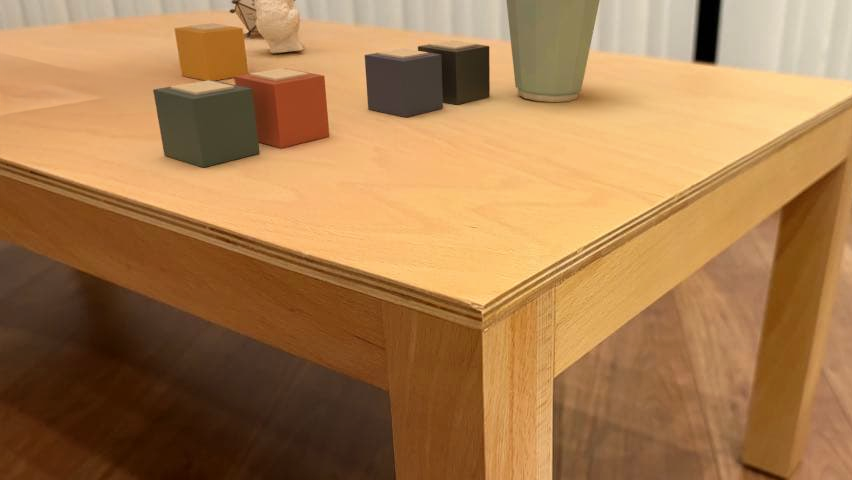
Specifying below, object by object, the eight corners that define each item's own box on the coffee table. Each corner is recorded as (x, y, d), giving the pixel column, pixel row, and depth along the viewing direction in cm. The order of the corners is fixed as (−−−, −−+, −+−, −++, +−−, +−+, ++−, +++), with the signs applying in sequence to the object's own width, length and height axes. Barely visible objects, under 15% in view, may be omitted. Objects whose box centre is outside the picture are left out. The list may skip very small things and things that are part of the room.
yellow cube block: (209, 81, 91) (201, 30, 89) (181, 75, 94) (173, 26, 91) (248, 75, 95) (242, 26, 92) (221, 69, 97) (214, 21, 95)
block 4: (457, 104, 83) (456, 49, 81) (419, 97, 86) (417, 44, 84) (489, 96, 87) (489, 43, 85) (452, 90, 89) (451, 38, 87)
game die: (275, 60, 124) (303, -1, 125) (281, 47, 116) (311, -19, 117) (214, 29, 121) (243, -34, 122) (216, 13, 113) (247, -54, 114)
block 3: (406, 117, 78) (403, 59, 76) (367, 109, 81) (364, 52, 78) (443, 108, 82) (441, 52, 79) (405, 100, 84) (402, 46, 82)
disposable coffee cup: (522, 82, 94) (524, -67, 88) (616, 91, 91) (626, -63, 84) (482, 101, 85) (481, -64, 79) (585, 112, 82) (592, -59, 75)
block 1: (203, 167, 63) (192, 96, 60) (164, 155, 65) (152, 86, 63) (260, 153, 66) (251, 85, 64) (220, 142, 69) (211, 77, 67)
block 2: (281, 148, 68) (273, 81, 66) (241, 137, 70) (233, 73, 68) (329, 136, 71) (324, 72, 69) (290, 126, 74) (284, 65, 72)
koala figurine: (303, 45, 114) (294, -53, 108) (327, 52, 109) (319, -50, 104) (241, 51, 109) (229, -52, 103) (264, 58, 104) (251, -48, 99)
